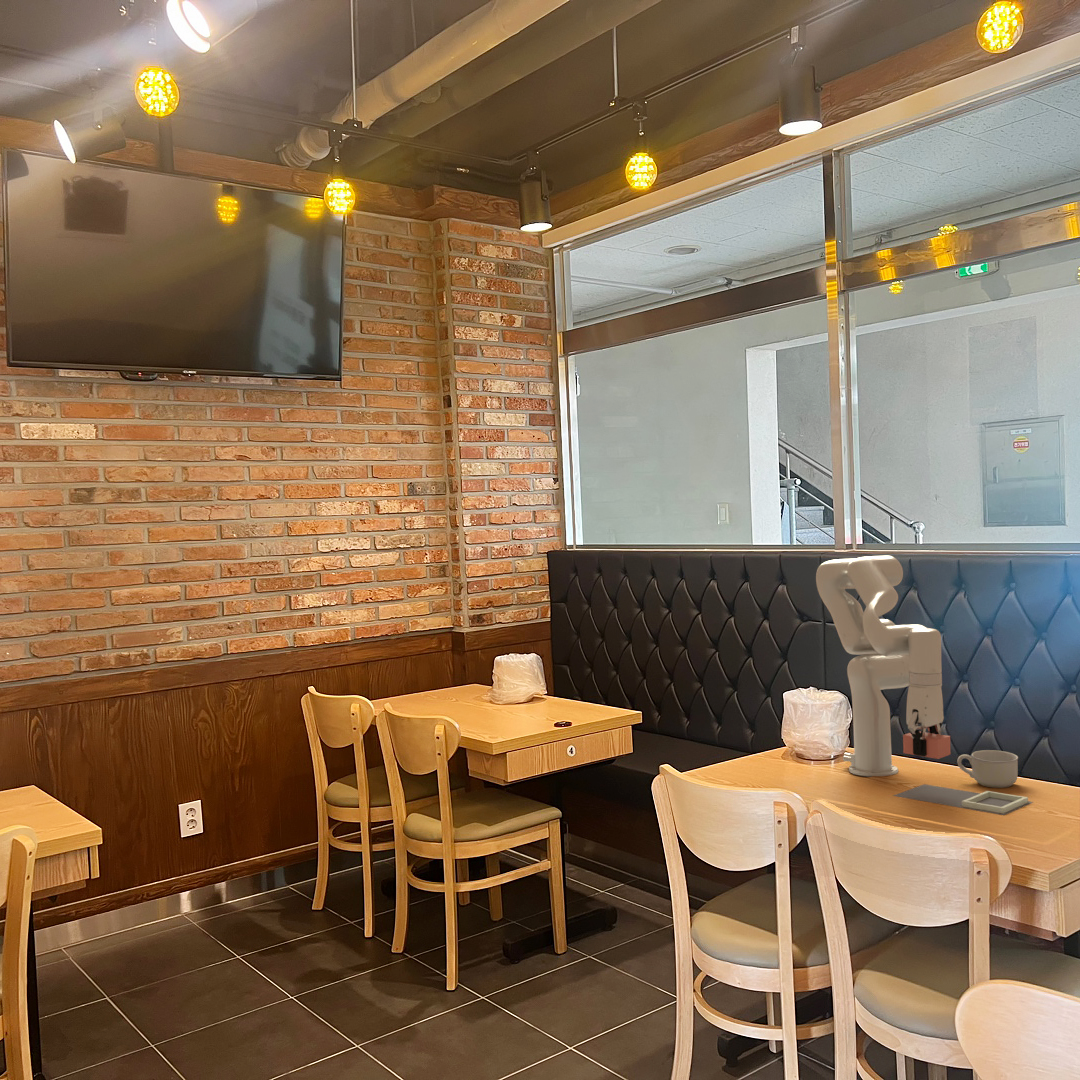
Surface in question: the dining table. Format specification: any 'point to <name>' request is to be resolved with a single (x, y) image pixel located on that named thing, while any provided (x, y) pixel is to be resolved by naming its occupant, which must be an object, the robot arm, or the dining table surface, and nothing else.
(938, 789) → the play mat
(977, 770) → the teacup
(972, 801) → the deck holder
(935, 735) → the card deck
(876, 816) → the dining table surface
